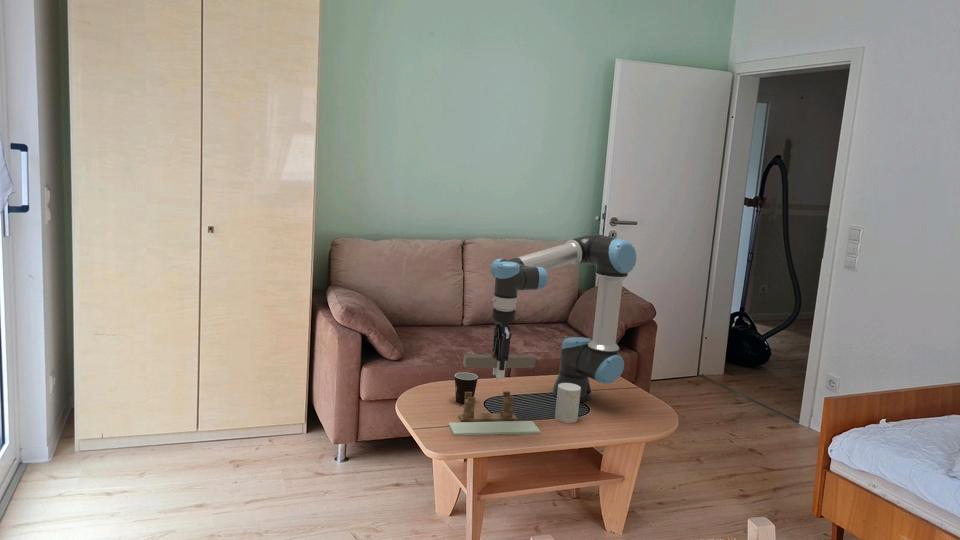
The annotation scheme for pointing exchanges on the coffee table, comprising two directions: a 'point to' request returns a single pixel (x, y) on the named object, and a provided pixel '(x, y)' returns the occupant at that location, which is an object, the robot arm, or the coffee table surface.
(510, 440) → the coffee table surface
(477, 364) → the rail
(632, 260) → the robot arm
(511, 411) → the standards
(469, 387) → the coffee mug
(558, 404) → the light grey cylinder plug
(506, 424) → the mat
